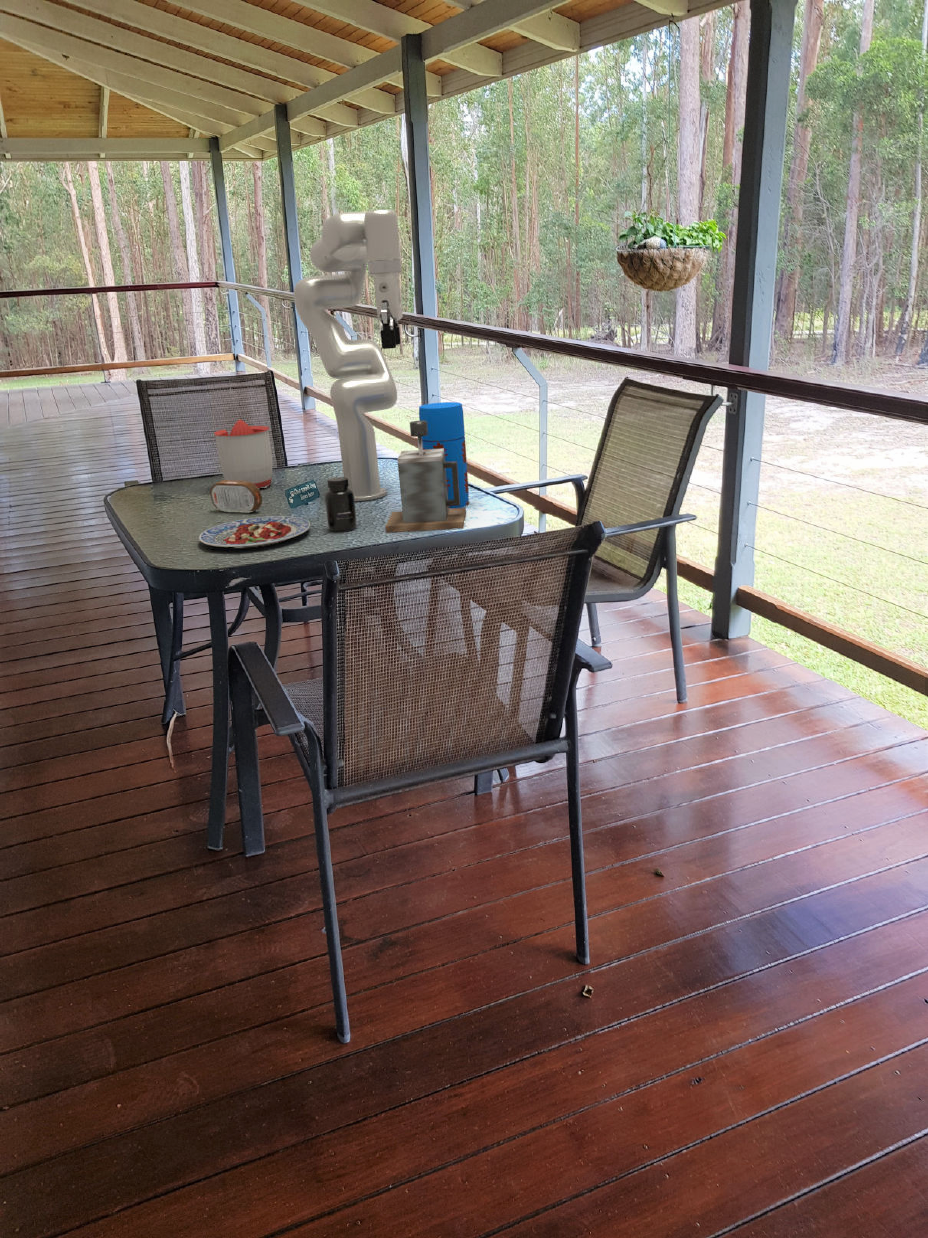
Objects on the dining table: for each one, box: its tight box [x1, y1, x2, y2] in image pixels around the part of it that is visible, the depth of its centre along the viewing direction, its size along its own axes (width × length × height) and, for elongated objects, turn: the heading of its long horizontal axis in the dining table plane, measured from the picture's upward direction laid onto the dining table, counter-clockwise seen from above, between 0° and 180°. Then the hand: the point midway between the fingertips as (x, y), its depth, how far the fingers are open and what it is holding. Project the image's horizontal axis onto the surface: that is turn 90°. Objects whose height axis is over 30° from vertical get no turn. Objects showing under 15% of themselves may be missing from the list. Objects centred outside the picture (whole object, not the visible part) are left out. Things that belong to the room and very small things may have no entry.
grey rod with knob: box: [409, 420, 428, 455], centre depth 224 cm, size 4×4×20 cm
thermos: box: [418, 401, 470, 509], centre depth 240 cm, size 11×11×25 cm
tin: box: [209, 479, 263, 512], centre depth 252 cm, size 15×3×8 cm, turn 65°
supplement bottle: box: [324, 476, 358, 533], centre depth 227 cm, size 7×7×12 cm
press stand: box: [384, 448, 467, 534], centre depth 226 cm, size 18×14×16 cm
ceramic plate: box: [198, 515, 311, 548], centre depth 226 cm, size 26×26×3 cm
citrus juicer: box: [213, 419, 274, 488], centre depth 280 cm, size 16×17×20 cm
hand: (391, 346), depth 225 cm, fingers open, 9 cm apart
